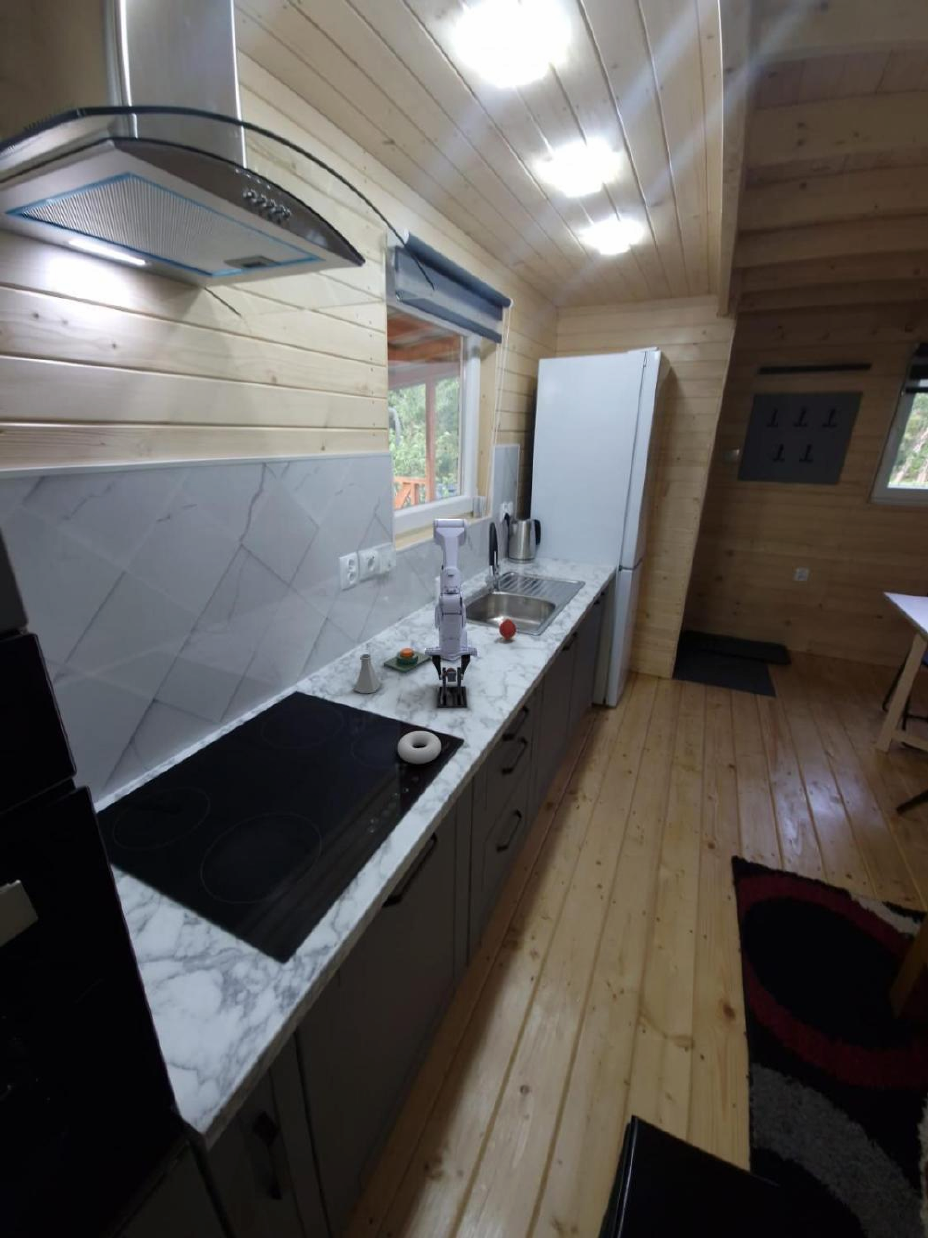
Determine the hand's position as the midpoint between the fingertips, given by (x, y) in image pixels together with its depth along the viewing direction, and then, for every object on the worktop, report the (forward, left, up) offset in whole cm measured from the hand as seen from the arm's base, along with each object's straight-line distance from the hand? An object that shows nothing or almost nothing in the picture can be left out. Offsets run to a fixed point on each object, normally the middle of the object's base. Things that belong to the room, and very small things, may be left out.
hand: (451, 678), depth 141 cm
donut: (+29, +13, -3) cm, 32 cm away
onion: (-37, -3, -3) cm, 37 cm away
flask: (+15, -18, -3) cm, 24 cm away
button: (-3, -19, 0) cm, 20 cm away
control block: (-3, -19, -2) cm, 20 cm away
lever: (+3, +3, +2) cm, 4 cm away
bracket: (+6, +5, -2) cm, 8 cm away
